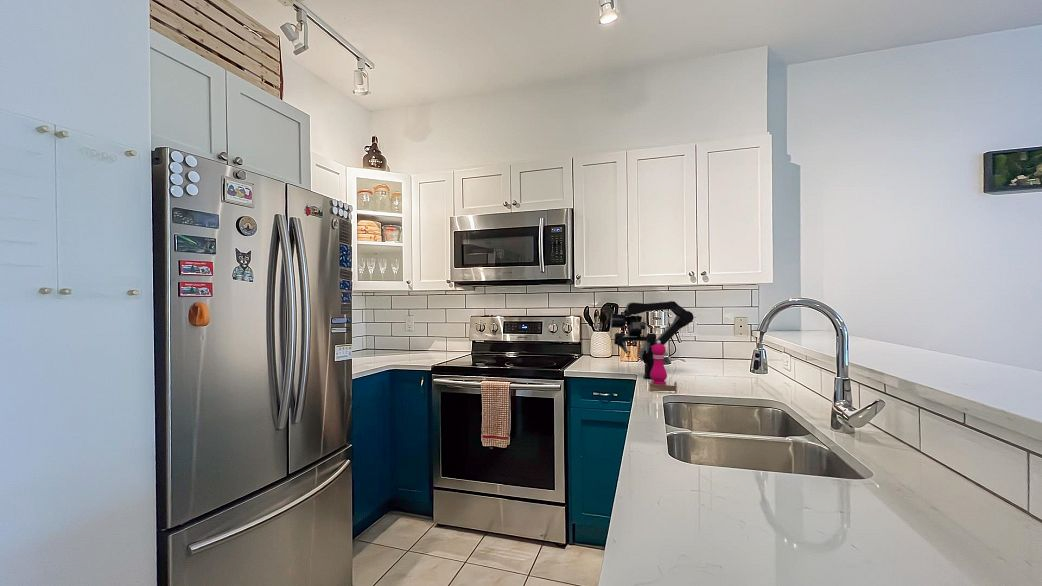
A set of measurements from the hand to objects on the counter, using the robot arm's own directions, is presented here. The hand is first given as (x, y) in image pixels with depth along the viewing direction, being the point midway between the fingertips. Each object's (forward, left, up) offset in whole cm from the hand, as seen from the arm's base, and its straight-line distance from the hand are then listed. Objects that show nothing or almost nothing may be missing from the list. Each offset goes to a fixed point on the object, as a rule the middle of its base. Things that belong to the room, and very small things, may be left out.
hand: (637, 353), depth 198 cm
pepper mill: (0, +9, -14) cm, 17 cm away
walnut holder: (+9, +12, -14) cm, 20 cm away
